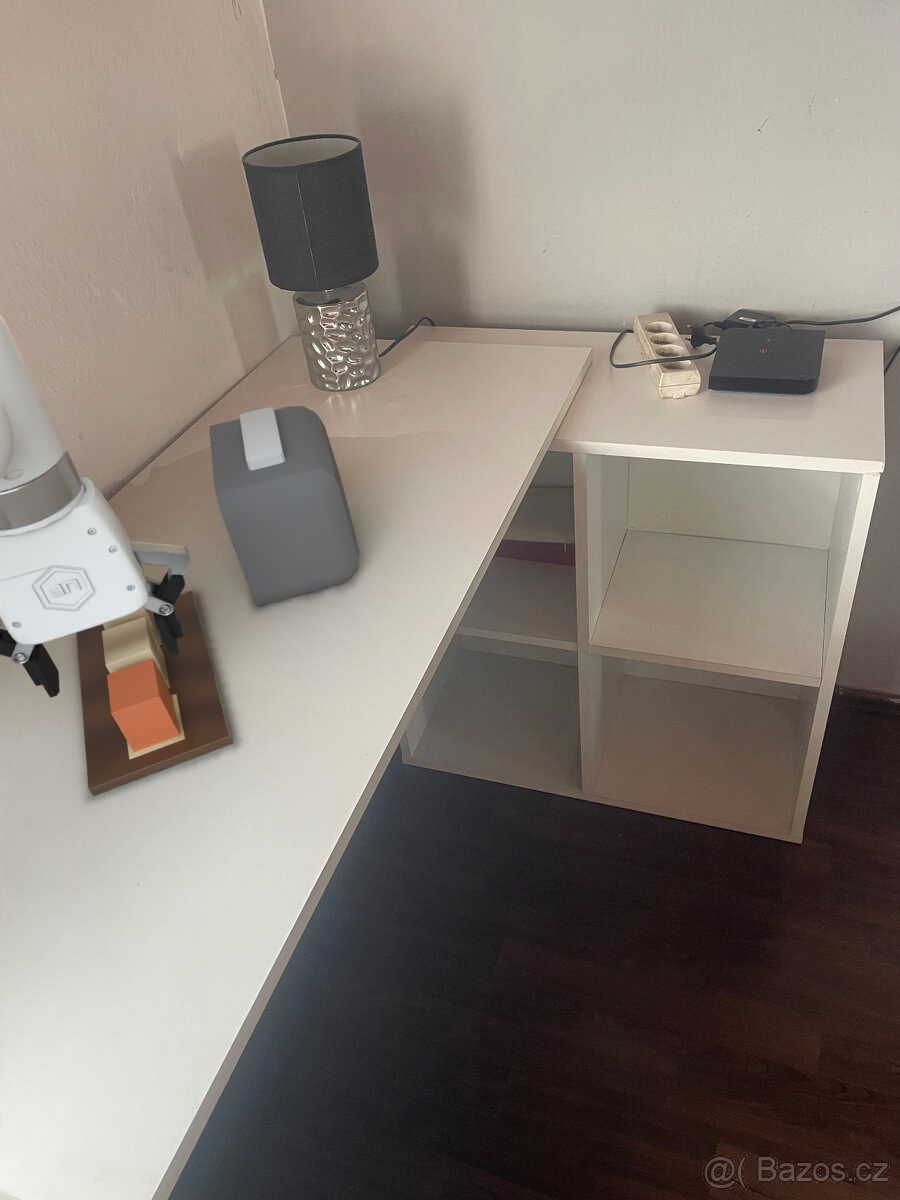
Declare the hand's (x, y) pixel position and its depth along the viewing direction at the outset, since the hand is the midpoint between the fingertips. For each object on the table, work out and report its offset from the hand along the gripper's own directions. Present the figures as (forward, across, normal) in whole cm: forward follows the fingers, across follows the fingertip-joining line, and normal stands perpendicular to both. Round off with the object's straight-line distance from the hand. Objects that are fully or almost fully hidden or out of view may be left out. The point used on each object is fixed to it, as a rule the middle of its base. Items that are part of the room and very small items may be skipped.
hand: (115, 664), depth 70 cm
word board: (+9, 0, +7) cm, 11 cm away
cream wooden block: (+8, 0, +7) cm, 11 cm away
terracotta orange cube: (+8, 0, 0) cm, 8 cm away
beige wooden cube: (+8, 0, +13) cm, 16 cm away
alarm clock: (+9, +19, +18) cm, 28 cm away
